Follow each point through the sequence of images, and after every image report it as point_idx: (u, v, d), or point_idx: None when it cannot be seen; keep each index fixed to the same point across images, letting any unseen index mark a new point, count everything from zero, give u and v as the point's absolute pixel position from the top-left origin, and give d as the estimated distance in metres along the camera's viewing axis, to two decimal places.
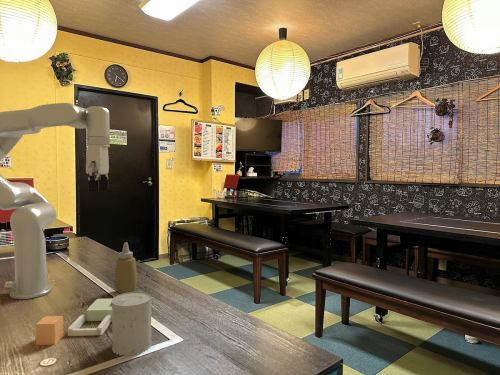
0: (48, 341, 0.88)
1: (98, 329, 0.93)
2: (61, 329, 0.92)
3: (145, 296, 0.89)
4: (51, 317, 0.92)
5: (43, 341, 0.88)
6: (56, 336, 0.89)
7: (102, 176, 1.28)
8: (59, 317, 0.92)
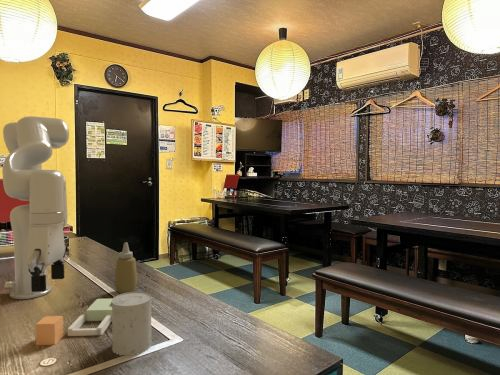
0: (48, 341, 0.88)
1: (98, 329, 0.93)
2: (61, 329, 0.92)
3: (145, 296, 0.89)
4: (51, 317, 0.92)
5: (43, 341, 0.88)
6: (56, 336, 0.89)
7: (56, 260, 0.94)
8: (59, 317, 0.92)
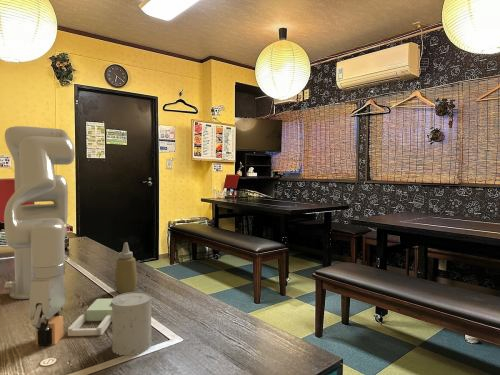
0: None
1: (98, 329, 0.93)
2: (62, 329, 0.92)
3: (145, 296, 0.89)
4: (51, 317, 0.92)
5: None
6: (56, 336, 0.89)
7: (53, 315, 0.93)
8: (59, 317, 0.92)
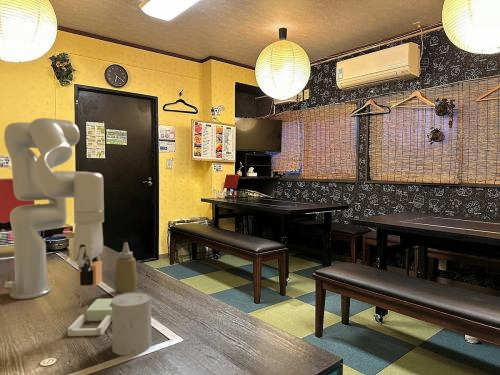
0: None
1: (98, 329, 0.93)
2: (101, 273, 0.98)
3: (145, 296, 0.89)
4: None
5: None
6: (97, 278, 0.95)
7: (92, 260, 1.00)
8: (98, 261, 0.98)
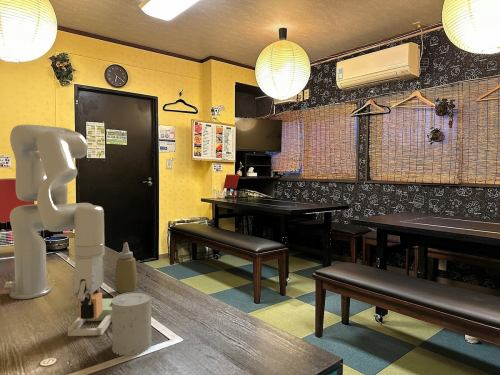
0: None
1: (98, 329, 0.93)
2: (101, 305, 0.99)
3: (145, 296, 0.89)
4: None
5: None
6: (97, 311, 0.96)
7: None
8: (99, 294, 0.99)
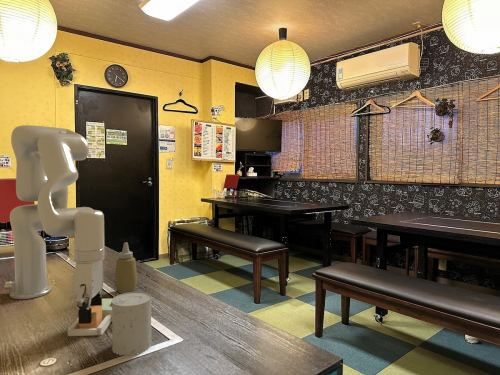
0: None
1: (98, 329, 0.93)
2: (101, 317, 0.99)
3: (145, 296, 0.89)
4: (91, 306, 0.99)
5: None
6: (97, 324, 0.96)
7: None
8: (99, 306, 0.99)
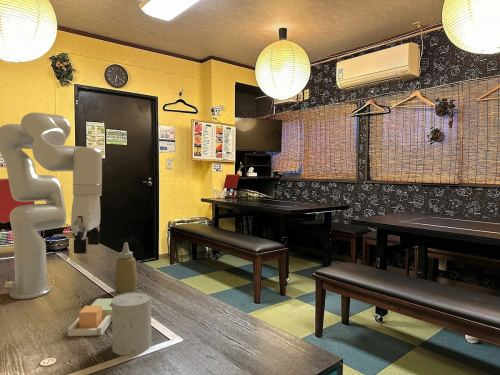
0: None
1: (98, 329, 0.93)
2: (101, 317, 0.99)
3: (145, 296, 0.89)
4: (91, 306, 0.99)
5: None
6: (97, 324, 0.96)
7: (92, 228, 1.06)
8: (99, 306, 0.99)
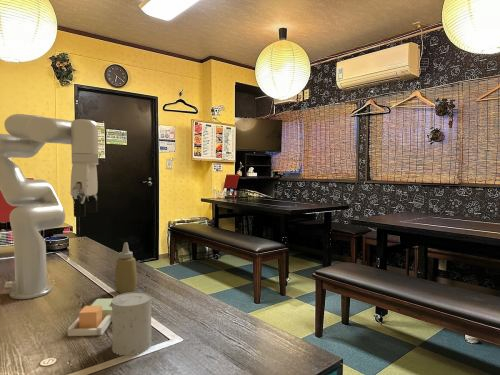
0: None
1: (98, 329, 0.93)
2: (101, 317, 0.99)
3: (145, 296, 0.89)
4: (91, 306, 0.99)
5: None
6: (97, 324, 0.96)
7: (90, 197, 1.14)
8: (99, 306, 0.99)
